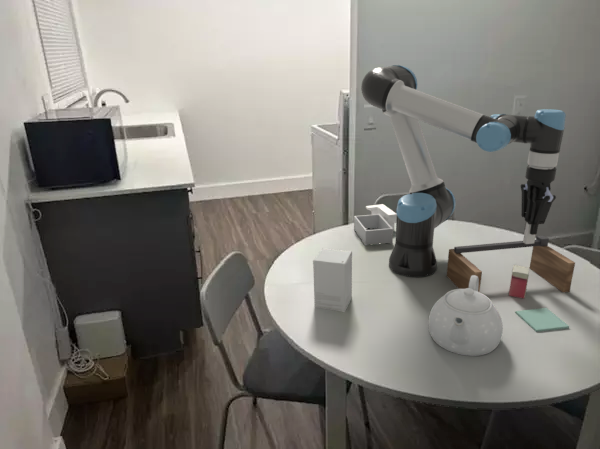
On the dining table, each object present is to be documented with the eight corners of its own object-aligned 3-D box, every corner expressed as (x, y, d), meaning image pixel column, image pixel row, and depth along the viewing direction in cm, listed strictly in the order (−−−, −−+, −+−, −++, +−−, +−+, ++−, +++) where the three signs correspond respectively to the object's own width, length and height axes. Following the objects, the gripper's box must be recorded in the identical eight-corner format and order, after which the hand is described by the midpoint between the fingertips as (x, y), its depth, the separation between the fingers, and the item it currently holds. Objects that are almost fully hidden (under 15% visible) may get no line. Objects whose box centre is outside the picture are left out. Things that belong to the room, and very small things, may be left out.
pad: (535, 332, 116) (536, 329, 116) (515, 313, 125) (515, 311, 125) (568, 328, 118) (569, 326, 117) (546, 309, 126) (546, 307, 126)
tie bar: (457, 254, 138) (457, 246, 137) (453, 250, 140) (454, 243, 140) (547, 245, 142) (548, 238, 141) (542, 242, 144) (543, 235, 143)
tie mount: (471, 302, 131) (475, 272, 127) (446, 276, 145) (449, 249, 142) (569, 291, 134) (575, 262, 131) (535, 267, 149) (539, 241, 146)
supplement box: (352, 298, 135) (353, 250, 129) (345, 313, 127) (345, 264, 122) (322, 293, 138) (322, 247, 132) (313, 308, 130) (312, 260, 124)
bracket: (382, 220, 194) (365, 222, 192) (383, 204, 191) (365, 206, 189) (396, 231, 182) (378, 233, 180) (397, 214, 179) (378, 216, 178)
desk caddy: (365, 246, 169) (365, 231, 167) (353, 230, 184) (354, 216, 182) (392, 244, 170) (393, 228, 168) (378, 228, 185) (379, 214, 183)
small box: (509, 288, 137) (513, 264, 135) (525, 291, 136) (529, 266, 133) (508, 296, 133) (512, 271, 130) (524, 299, 131) (529, 274, 129)
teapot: (521, 351, 109) (530, 300, 105) (452, 367, 105) (458, 315, 100) (472, 311, 126) (477, 266, 121) (411, 323, 122) (414, 277, 117)
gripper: (569, 171, 126) (554, 250, 134) (539, 160, 138) (526, 233, 147) (544, 172, 125) (530, 252, 133) (516, 161, 137) (504, 235, 145)
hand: (528, 242), depth 140 cm, fingers closed
